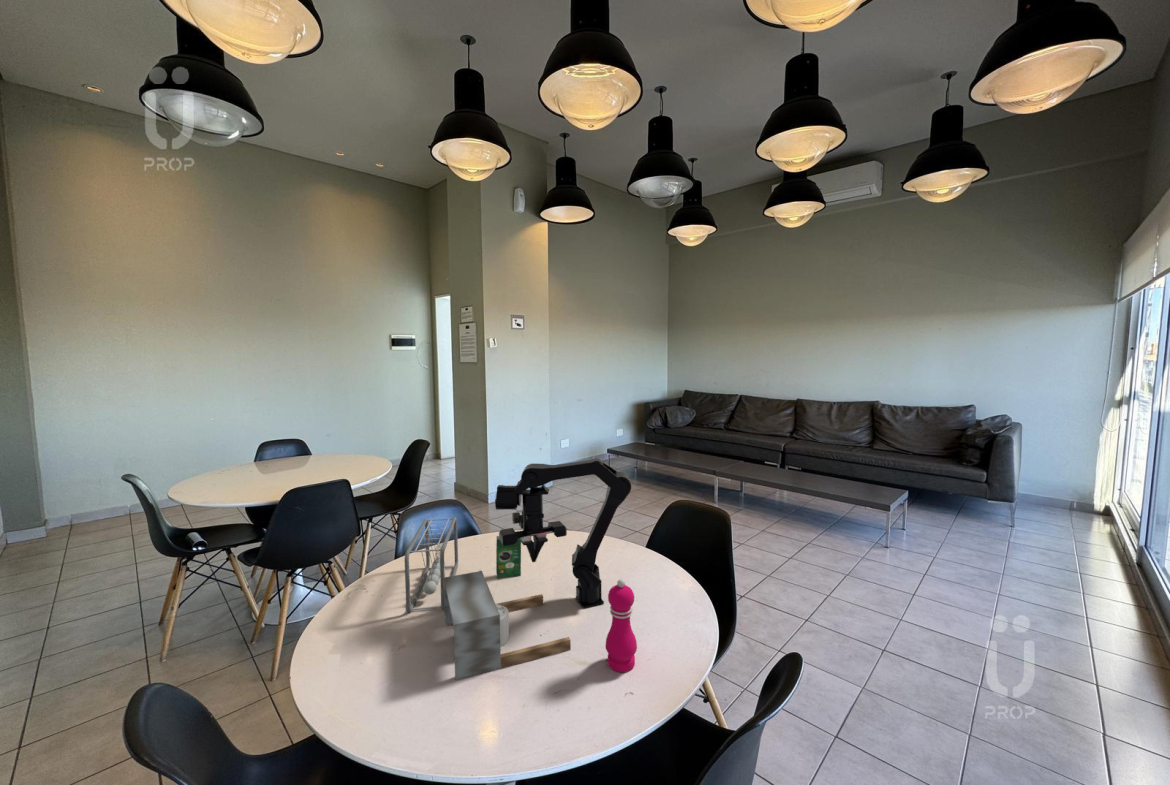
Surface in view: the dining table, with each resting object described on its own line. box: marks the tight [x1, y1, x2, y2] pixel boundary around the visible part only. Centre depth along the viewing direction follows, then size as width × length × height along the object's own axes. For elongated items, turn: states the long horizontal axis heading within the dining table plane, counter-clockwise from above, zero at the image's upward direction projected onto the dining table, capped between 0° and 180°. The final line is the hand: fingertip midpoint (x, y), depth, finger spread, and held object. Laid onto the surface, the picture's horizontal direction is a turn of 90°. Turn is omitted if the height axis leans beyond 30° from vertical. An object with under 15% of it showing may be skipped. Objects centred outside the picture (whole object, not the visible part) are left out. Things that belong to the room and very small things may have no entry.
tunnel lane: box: [444, 570, 572, 681], centre depth 116 cm, size 27×23×13 cm
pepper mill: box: [605, 578, 638, 673], centre depth 105 cm, size 7×7×20 cm
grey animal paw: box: [495, 603, 510, 649], centre depth 114 cm, size 10×13×9 cm
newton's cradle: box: [404, 516, 459, 614], centre depth 140 cm, size 30×10×18 cm, turn 9°
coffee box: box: [495, 535, 522, 579], centre depth 148 cm, size 8×3×13 cm, turn 103°
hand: (533, 561), depth 132 cm, fingers closed
